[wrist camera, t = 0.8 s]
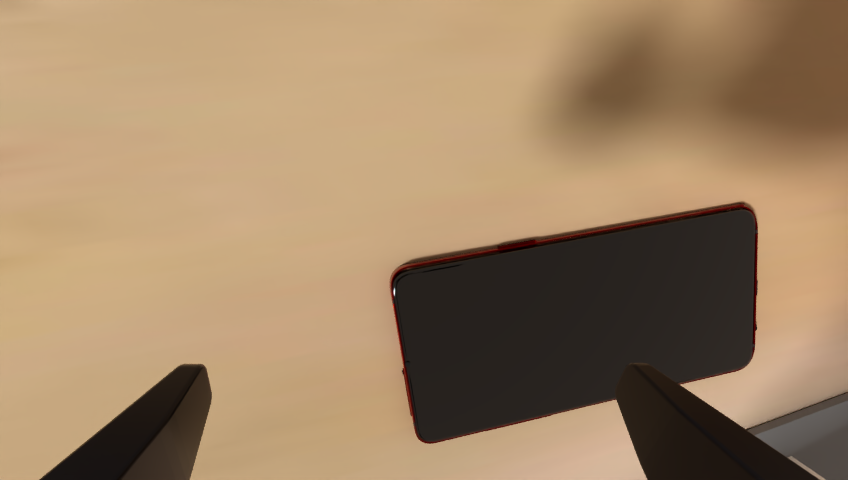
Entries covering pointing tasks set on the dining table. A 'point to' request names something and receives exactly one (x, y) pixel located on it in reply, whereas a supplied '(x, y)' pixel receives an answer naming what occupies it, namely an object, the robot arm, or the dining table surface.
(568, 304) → the smartphone
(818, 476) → the cream and orange slab
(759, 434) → the charcoal mat
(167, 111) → the dining table surface
